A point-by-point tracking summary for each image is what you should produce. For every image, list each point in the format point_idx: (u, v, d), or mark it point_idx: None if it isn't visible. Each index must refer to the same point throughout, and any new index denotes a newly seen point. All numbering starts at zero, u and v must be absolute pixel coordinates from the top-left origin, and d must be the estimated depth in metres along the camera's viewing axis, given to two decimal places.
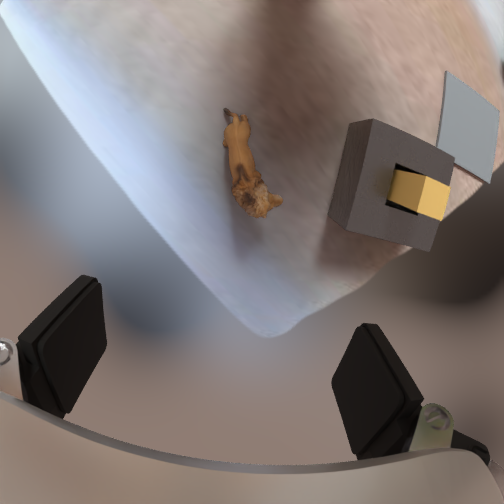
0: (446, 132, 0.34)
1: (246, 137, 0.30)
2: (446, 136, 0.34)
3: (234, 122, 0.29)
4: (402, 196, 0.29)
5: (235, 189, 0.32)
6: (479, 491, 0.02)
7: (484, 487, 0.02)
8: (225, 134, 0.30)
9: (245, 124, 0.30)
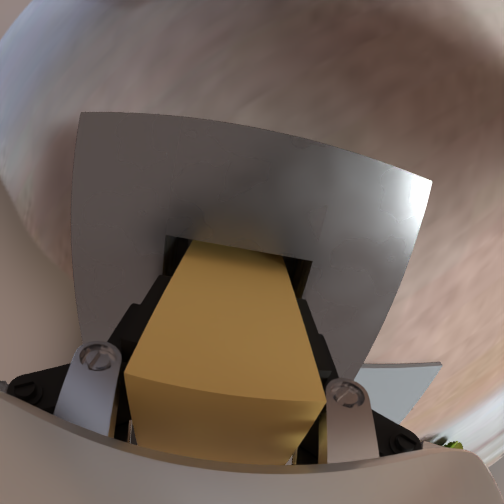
0: None
1: None
2: None
3: None
4: (199, 290, 0.08)
5: None
6: (479, 491, 0.02)
7: (484, 487, 0.02)
8: None
9: None
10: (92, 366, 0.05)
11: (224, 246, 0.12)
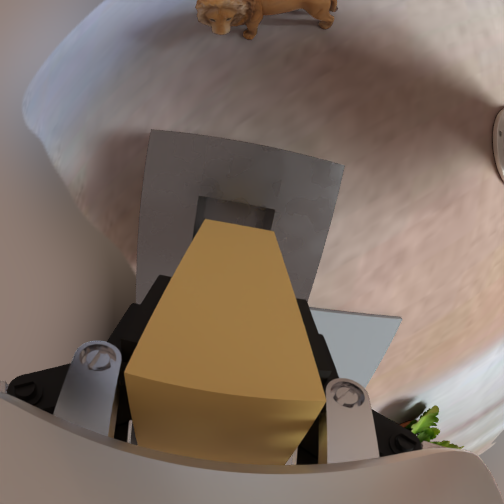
0: (321, 321, 0.32)
1: None
2: (316, 321, 0.32)
3: None
4: (199, 290, 0.08)
5: None
6: (479, 491, 0.02)
7: (484, 487, 0.02)
8: None
9: (327, 2, 0.15)
10: (92, 366, 0.05)
11: (224, 246, 0.12)
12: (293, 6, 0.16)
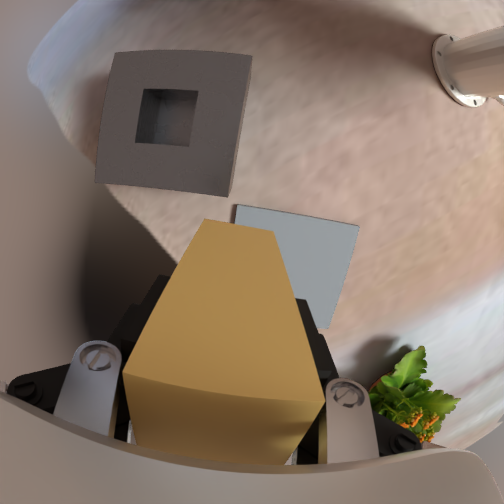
0: (270, 221, 0.34)
1: None
2: (264, 221, 0.34)
3: None
4: (198, 290, 0.08)
5: None
6: (479, 491, 0.02)
7: (484, 487, 0.02)
8: None
9: None
10: (92, 366, 0.05)
11: (223, 246, 0.12)
12: None
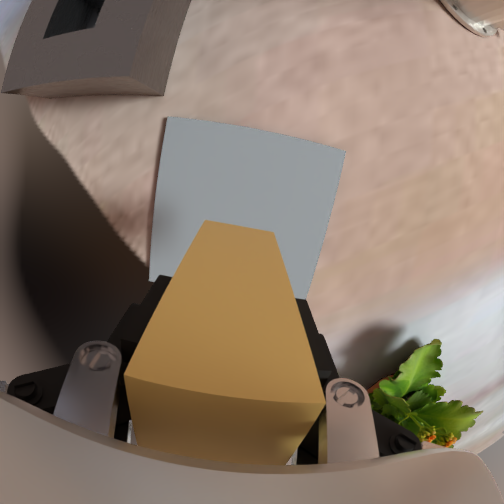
0: (212, 137, 0.22)
1: None
2: (204, 137, 0.22)
3: None
4: (199, 292, 0.08)
5: None
6: (479, 491, 0.02)
7: (484, 487, 0.02)
8: None
9: None
10: (92, 366, 0.05)
11: (224, 247, 0.12)
12: None
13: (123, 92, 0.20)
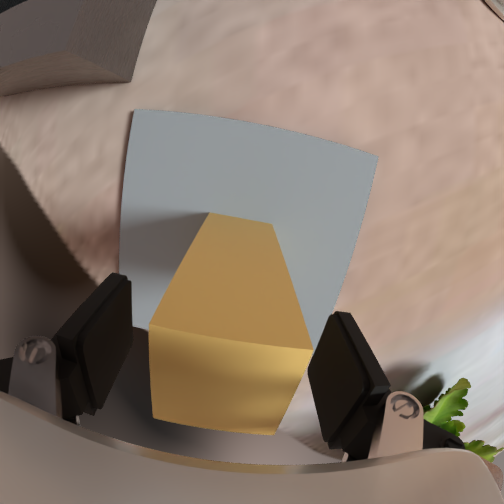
0: (194, 136, 0.16)
1: None
2: (183, 135, 0.16)
3: None
4: (208, 267, 0.10)
5: None
6: (479, 491, 0.02)
7: (484, 487, 0.02)
8: None
9: None
10: (31, 361, 0.05)
11: (227, 234, 0.14)
12: None
13: (79, 80, 0.13)
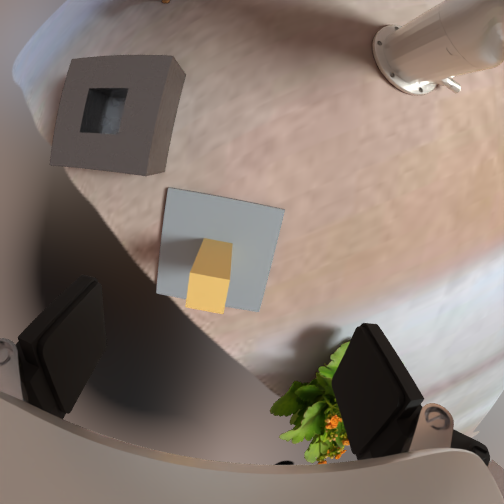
0: (197, 203, 0.37)
1: None
2: (191, 202, 0.37)
3: None
4: (204, 260, 0.31)
5: None
6: (479, 491, 0.02)
7: (484, 487, 0.02)
8: None
9: None
10: None
11: (211, 249, 0.35)
12: None
13: None
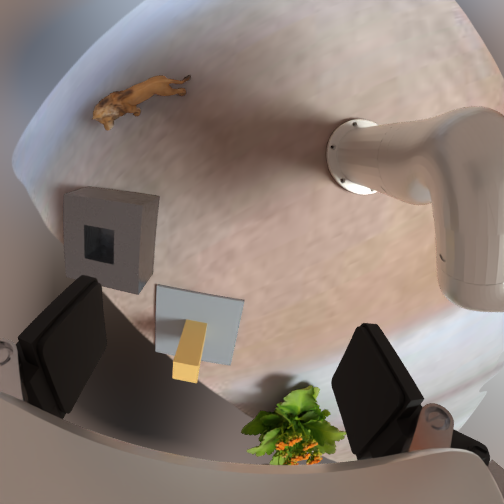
0: (178, 297, 0.49)
1: (153, 90, 0.32)
2: (175, 296, 0.49)
3: (165, 79, 0.31)
4: (183, 347, 0.43)
5: (113, 93, 0.31)
6: (479, 491, 0.02)
7: (484, 487, 0.02)
8: (156, 76, 0.32)
9: (165, 88, 0.32)
10: None
11: (190, 333, 0.47)
12: (147, 96, 0.33)
13: None
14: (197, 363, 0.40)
